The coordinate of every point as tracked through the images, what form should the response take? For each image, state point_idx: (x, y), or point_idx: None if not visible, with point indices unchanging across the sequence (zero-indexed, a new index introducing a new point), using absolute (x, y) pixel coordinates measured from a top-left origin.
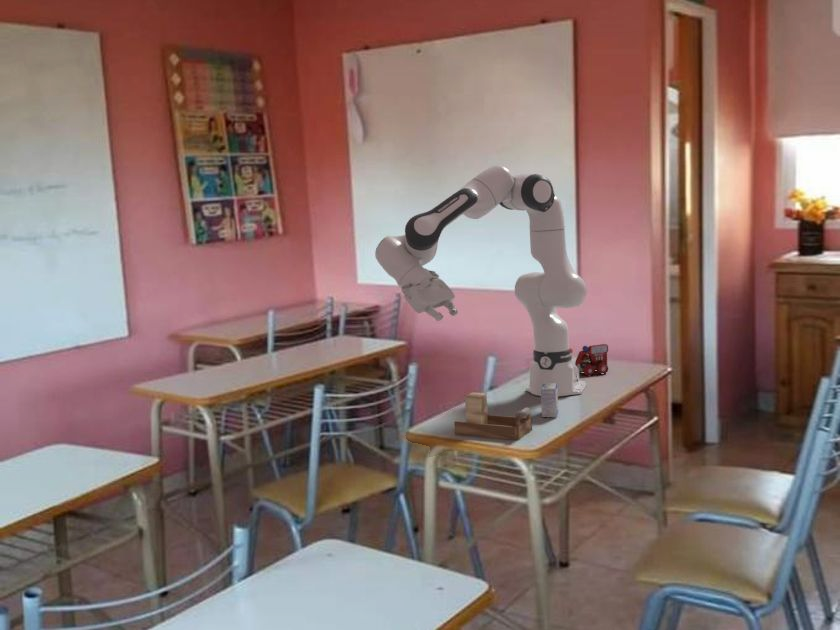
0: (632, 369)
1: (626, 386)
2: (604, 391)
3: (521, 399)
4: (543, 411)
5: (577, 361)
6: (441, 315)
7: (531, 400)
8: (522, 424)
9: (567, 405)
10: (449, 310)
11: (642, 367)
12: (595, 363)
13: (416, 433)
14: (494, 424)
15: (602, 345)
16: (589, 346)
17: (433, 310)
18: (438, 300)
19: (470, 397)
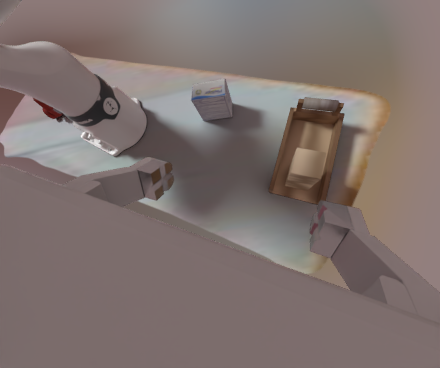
0: None
1: (115, 68)
2: (130, 82)
3: (150, 154)
4: (231, 111)
5: (49, 108)
6: (339, 207)
7: (156, 143)
8: (325, 111)
9: (180, 103)
10: (135, 199)
11: None
12: None
13: (321, 263)
14: (281, 158)
15: None
16: None
17: (410, 271)
18: (223, 251)
19: (321, 169)
